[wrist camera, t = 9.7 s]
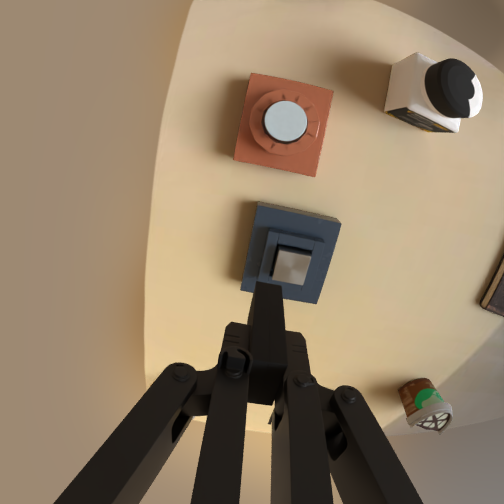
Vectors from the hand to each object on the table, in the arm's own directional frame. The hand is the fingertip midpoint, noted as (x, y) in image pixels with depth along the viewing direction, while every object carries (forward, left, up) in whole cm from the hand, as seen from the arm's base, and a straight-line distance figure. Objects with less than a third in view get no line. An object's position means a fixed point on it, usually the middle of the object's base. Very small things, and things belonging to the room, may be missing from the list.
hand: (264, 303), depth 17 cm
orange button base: (-10, -6, -20) cm, 23 cm away
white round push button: (-10, -6, -15) cm, 19 cm away
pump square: (+1, +5, -16) cm, 17 cm away
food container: (+3, +45, -20) cm, 49 cm away
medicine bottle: (-25, +3, -20) cm, 32 cm away
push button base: (+1, +5, -20) cm, 20 cm away
